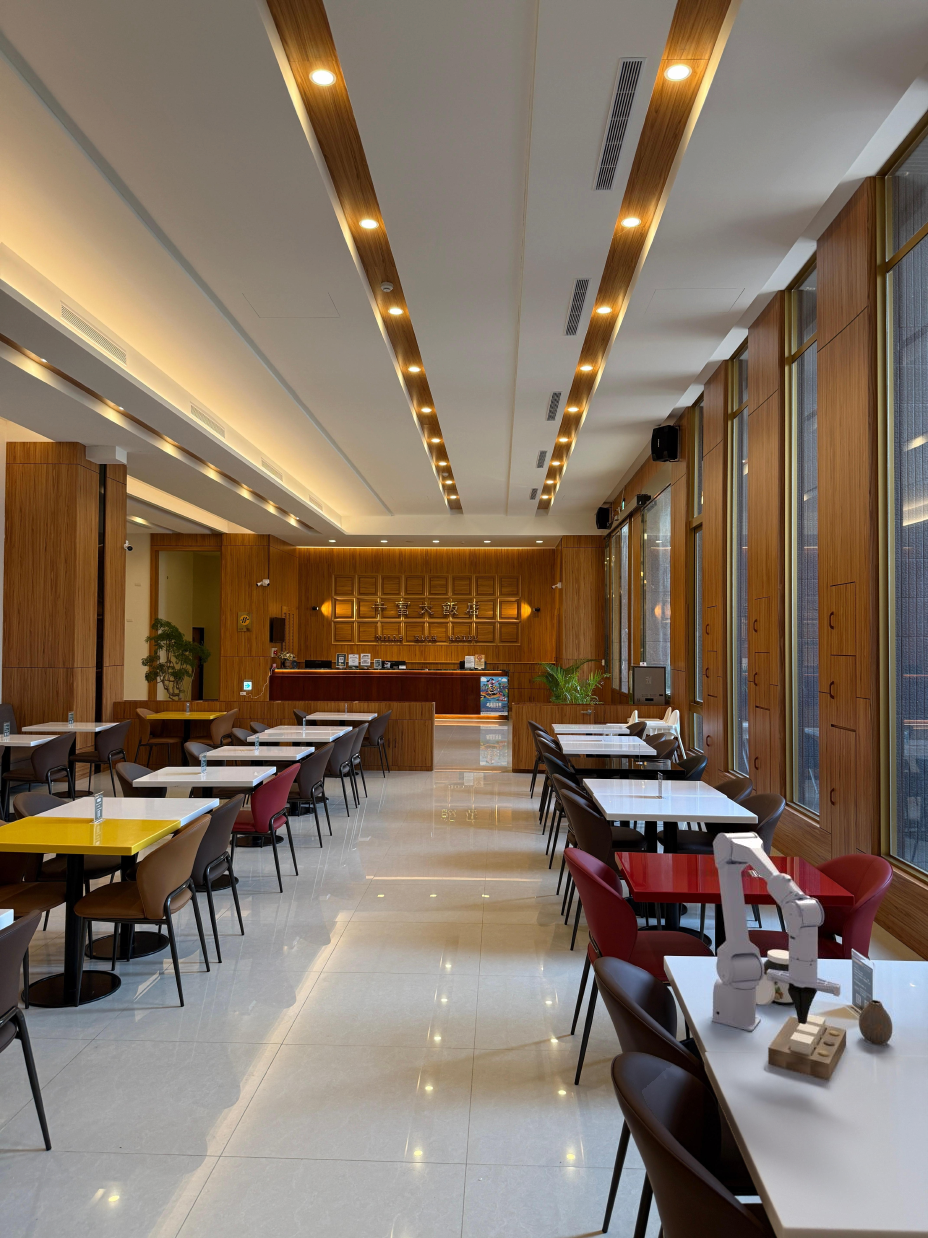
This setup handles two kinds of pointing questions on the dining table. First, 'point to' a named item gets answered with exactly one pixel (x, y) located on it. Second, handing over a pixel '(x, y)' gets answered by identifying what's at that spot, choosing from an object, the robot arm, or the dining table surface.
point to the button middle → (810, 1031)
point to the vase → (875, 1023)
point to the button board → (805, 1064)
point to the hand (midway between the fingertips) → (802, 1022)
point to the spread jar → (772, 989)
